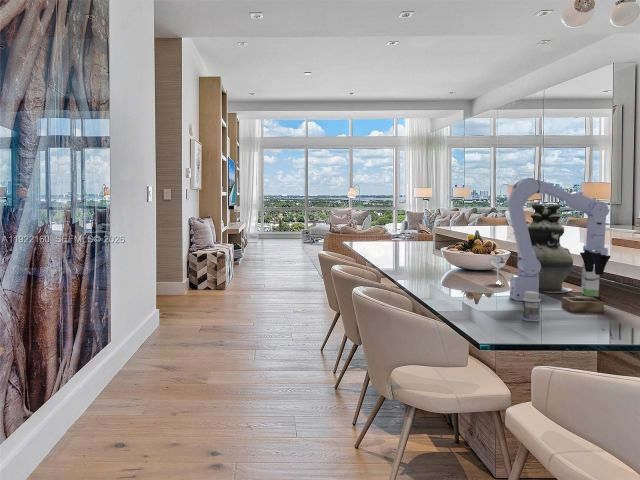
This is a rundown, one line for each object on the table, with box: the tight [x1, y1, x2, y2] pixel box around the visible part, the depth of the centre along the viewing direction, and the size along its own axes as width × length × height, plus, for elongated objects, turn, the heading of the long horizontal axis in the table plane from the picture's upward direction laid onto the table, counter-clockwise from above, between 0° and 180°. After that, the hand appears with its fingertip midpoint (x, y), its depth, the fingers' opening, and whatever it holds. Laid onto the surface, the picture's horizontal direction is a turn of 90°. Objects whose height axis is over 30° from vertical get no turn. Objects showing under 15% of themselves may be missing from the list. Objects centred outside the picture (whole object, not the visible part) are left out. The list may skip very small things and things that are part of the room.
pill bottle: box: [522, 291, 541, 322], centre depth 150 cm, size 5×5×8 cm
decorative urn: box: [516, 204, 574, 294], centre depth 205 cm, size 21×21×35 cm
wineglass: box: [490, 254, 508, 285], centre depth 223 cm, size 7×7×12 cm
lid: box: [574, 295, 606, 308], centre depth 175 cm, size 11×9×3 cm
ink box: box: [580, 263, 600, 297], centre depth 194 cm, size 9×5×12 cm, turn 162°
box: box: [561, 296, 605, 314], centre depth 165 cm, size 10×8×3 cm
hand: (593, 273), depth 179 cm, fingers open, 7 cm apart
